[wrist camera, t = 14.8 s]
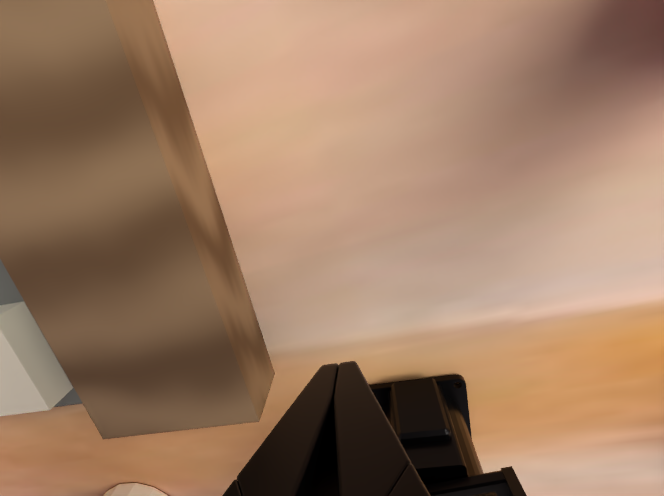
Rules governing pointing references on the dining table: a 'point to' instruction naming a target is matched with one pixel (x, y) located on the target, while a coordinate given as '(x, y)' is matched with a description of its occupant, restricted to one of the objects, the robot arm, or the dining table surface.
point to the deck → (120, 222)
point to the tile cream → (27, 365)
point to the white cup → (134, 490)
